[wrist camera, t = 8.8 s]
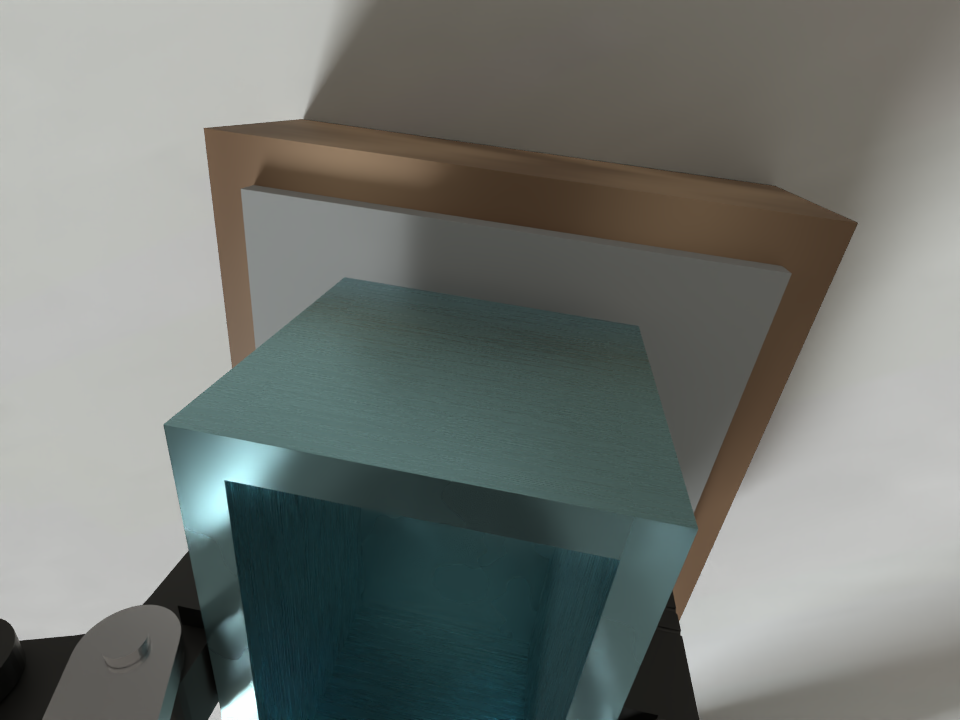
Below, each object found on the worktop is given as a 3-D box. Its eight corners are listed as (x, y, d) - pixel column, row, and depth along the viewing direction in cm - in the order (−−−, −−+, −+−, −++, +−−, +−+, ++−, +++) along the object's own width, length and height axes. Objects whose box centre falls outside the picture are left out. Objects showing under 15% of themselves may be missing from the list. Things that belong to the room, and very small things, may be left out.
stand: (315, 476, 21) (247, 578, 16) (301, 119, 15) (188, 129, 10) (645, 542, 20) (667, 670, 15) (774, 186, 14) (871, 229, 9)
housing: (345, 277, 10) (164, 425, 5) (638, 326, 9) (698, 529, 5) (346, 596, 14) (244, 825, 10) (550, 640, 14) (539, 902, 9)
